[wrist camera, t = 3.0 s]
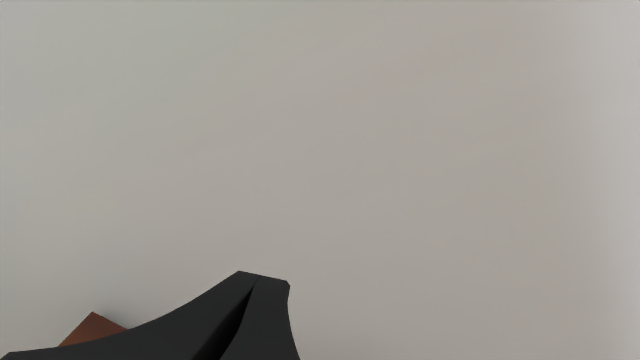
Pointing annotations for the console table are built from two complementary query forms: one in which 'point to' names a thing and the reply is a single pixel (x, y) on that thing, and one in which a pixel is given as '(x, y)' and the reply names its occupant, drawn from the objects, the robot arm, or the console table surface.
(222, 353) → the robot arm
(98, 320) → the diary
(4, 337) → the console table surface
